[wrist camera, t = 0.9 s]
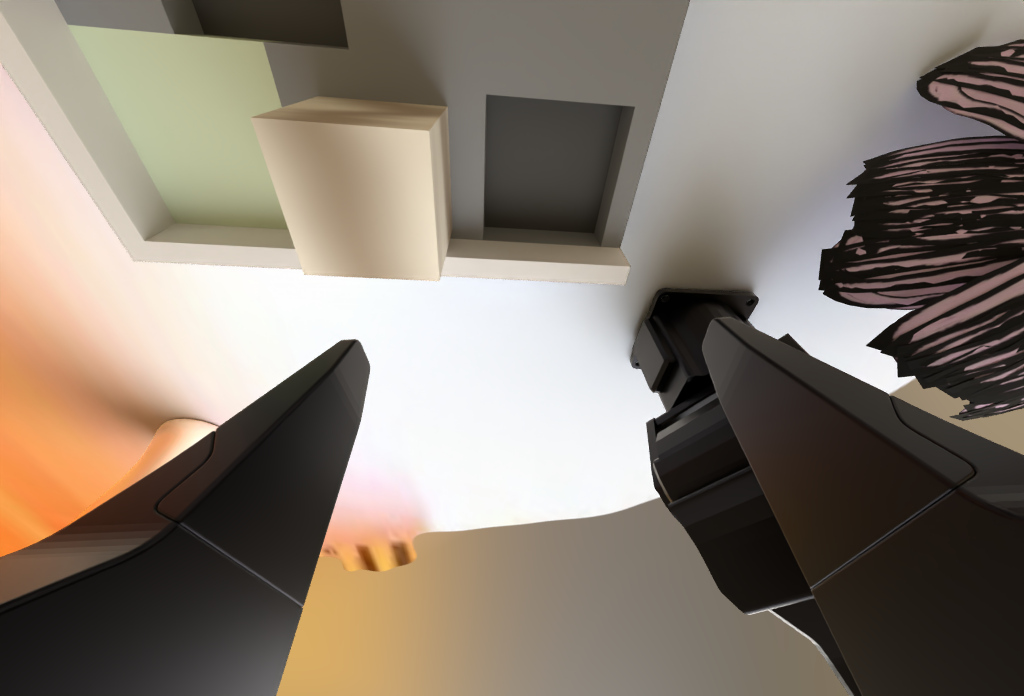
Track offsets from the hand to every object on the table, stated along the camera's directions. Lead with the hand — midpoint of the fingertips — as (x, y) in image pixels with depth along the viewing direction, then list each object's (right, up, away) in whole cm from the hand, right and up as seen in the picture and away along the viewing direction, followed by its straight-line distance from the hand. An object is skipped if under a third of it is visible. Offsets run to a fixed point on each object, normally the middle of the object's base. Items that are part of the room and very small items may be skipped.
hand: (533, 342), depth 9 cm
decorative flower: (+21, +8, +10) cm, 25 cm away
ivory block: (-6, +8, +6) cm, 12 cm away
